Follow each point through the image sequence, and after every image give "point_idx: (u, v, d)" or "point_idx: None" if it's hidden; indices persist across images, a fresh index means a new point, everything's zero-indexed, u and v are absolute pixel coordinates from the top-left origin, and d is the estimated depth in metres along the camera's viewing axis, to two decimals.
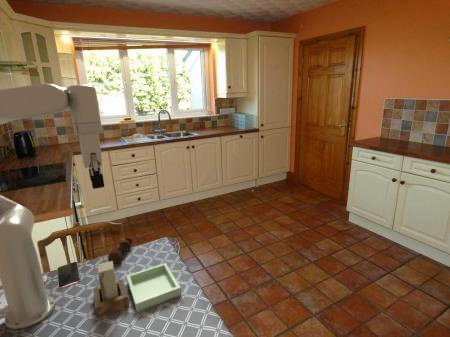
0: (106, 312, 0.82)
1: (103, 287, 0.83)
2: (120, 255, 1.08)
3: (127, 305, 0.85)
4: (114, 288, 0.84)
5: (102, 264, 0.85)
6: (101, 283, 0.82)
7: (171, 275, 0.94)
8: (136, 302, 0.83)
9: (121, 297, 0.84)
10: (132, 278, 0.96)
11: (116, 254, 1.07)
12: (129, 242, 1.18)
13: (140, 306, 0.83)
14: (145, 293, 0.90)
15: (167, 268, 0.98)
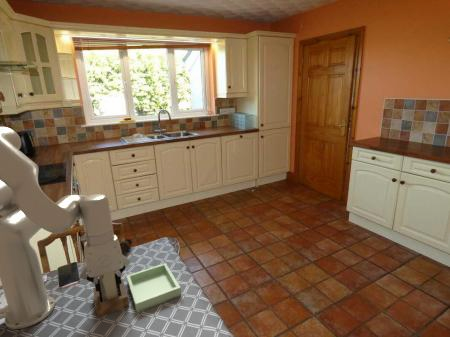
0: (106, 312, 0.82)
1: (103, 287, 0.83)
2: None
3: (127, 305, 0.85)
4: (114, 288, 0.84)
5: None
6: (101, 283, 0.82)
7: (171, 275, 0.94)
8: (136, 302, 0.83)
9: (121, 297, 0.84)
10: (132, 278, 0.96)
11: None
12: (128, 243, 1.17)
13: (140, 306, 0.83)
14: (145, 293, 0.90)
15: (167, 268, 0.98)
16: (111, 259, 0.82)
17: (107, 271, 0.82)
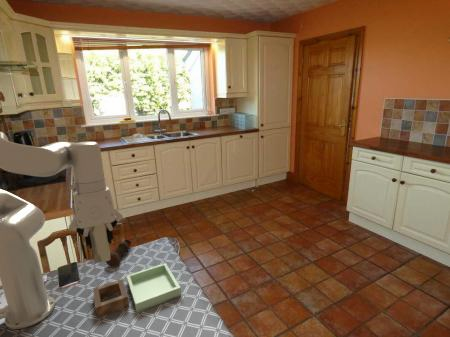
0: (106, 312, 0.82)
1: (93, 241, 0.79)
2: (118, 257, 1.06)
3: (127, 305, 0.85)
4: (105, 242, 0.81)
5: None
6: (91, 236, 0.79)
7: (171, 275, 0.94)
8: (136, 302, 0.83)
9: (121, 297, 0.84)
10: (132, 278, 0.96)
11: (114, 256, 1.06)
12: (127, 244, 1.16)
13: (140, 306, 0.83)
14: (145, 293, 0.90)
15: (167, 268, 0.98)
16: (102, 210, 0.78)
17: (98, 223, 0.78)
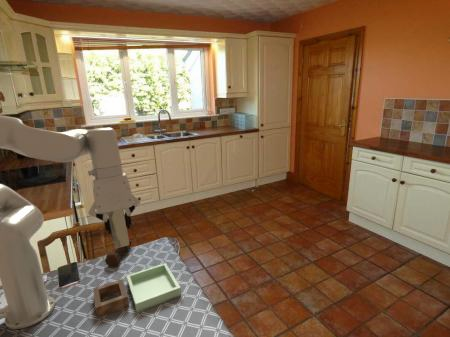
0: (106, 312, 0.82)
1: (113, 226, 0.80)
2: (117, 257, 1.06)
3: (127, 305, 0.85)
4: (124, 227, 0.82)
5: None
6: (111, 221, 0.80)
7: (171, 275, 0.94)
8: (136, 302, 0.83)
9: (121, 297, 0.84)
10: (132, 278, 0.96)
11: (113, 256, 1.05)
12: None
13: (140, 306, 0.83)
14: (145, 293, 0.90)
15: (167, 268, 0.98)
16: (120, 195, 0.79)
17: (116, 208, 0.79)
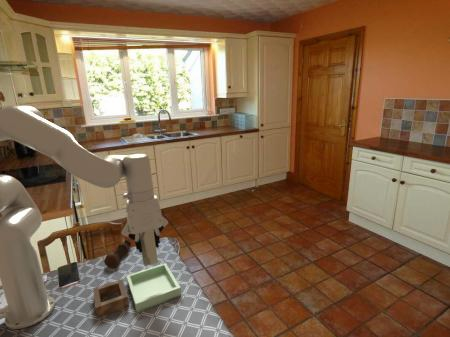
0: (106, 312, 0.82)
1: (144, 245, 0.85)
2: (116, 258, 1.06)
3: (127, 305, 0.85)
4: (154, 246, 0.87)
5: None
6: (142, 241, 0.85)
7: (171, 275, 0.94)
8: (136, 302, 0.83)
9: (121, 297, 0.84)
10: (132, 278, 0.96)
11: (112, 257, 1.05)
12: (127, 245, 1.16)
13: (140, 306, 0.83)
14: (145, 293, 0.90)
15: (167, 268, 0.98)
16: (152, 217, 0.85)
17: (148, 229, 0.85)
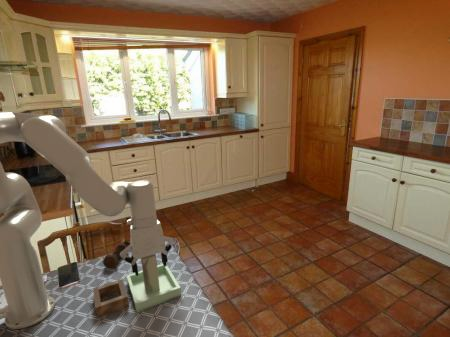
0: (106, 312, 0.82)
1: (146, 273, 0.88)
2: (115, 259, 1.05)
3: (127, 305, 0.85)
4: (156, 274, 0.89)
5: None
6: (145, 269, 0.87)
7: (171, 275, 0.94)
8: (136, 302, 0.83)
9: (121, 297, 0.84)
10: (132, 278, 0.96)
11: (111, 258, 1.04)
12: (126, 245, 1.15)
13: (140, 306, 0.83)
14: (145, 293, 0.90)
15: (167, 268, 0.98)
16: (155, 242, 0.87)
17: (151, 253, 0.87)
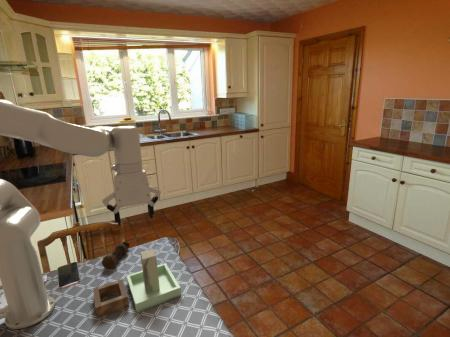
0: (106, 312, 0.82)
1: (147, 273, 0.88)
2: (114, 260, 1.05)
3: (127, 305, 0.85)
4: (156, 274, 0.89)
5: (144, 252, 0.90)
6: (145, 269, 0.87)
7: (171, 275, 0.94)
8: (136, 302, 0.83)
9: (121, 297, 0.84)
10: (132, 278, 0.96)
11: (110, 258, 1.04)
12: (125, 246, 1.15)
13: (140, 306, 0.83)
14: (145, 293, 0.90)
15: (167, 268, 0.98)
16: (139, 191, 0.83)
17: (135, 202, 0.83)
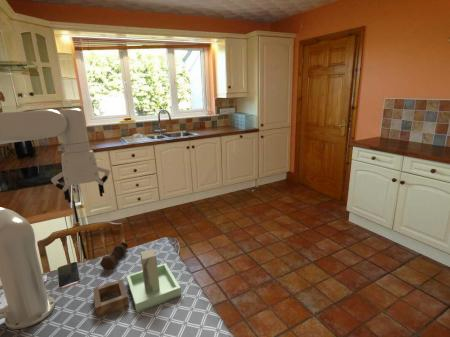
0: (106, 312, 0.82)
1: (147, 273, 0.88)
2: (113, 260, 1.04)
3: (127, 305, 0.85)
4: (156, 274, 0.89)
5: (144, 252, 0.90)
6: (145, 269, 0.87)
7: (171, 275, 0.94)
8: (136, 302, 0.83)
9: (121, 297, 0.84)
10: (132, 278, 0.96)
11: (109, 259, 1.04)
12: (124, 246, 1.14)
13: (140, 306, 0.83)
14: (145, 293, 0.90)
15: (167, 268, 0.98)
16: (87, 169, 0.89)
17: (83, 181, 0.89)
